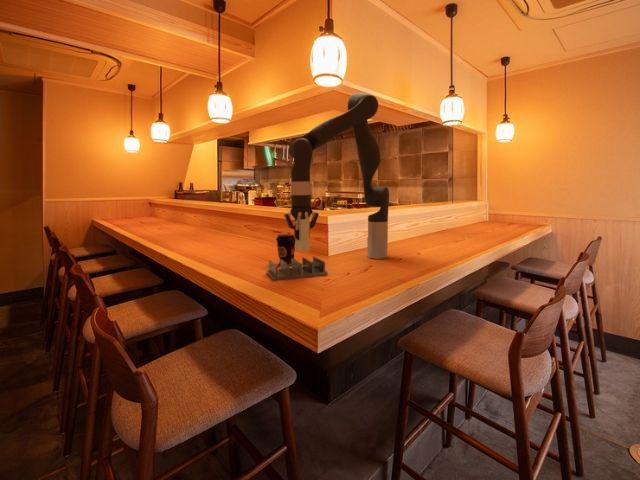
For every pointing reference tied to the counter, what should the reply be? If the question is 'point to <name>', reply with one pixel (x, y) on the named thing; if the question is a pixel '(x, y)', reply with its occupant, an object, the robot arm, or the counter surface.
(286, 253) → the coffee cup
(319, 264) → the dish rack
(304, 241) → the tall cream pillar
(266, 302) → the counter surface
